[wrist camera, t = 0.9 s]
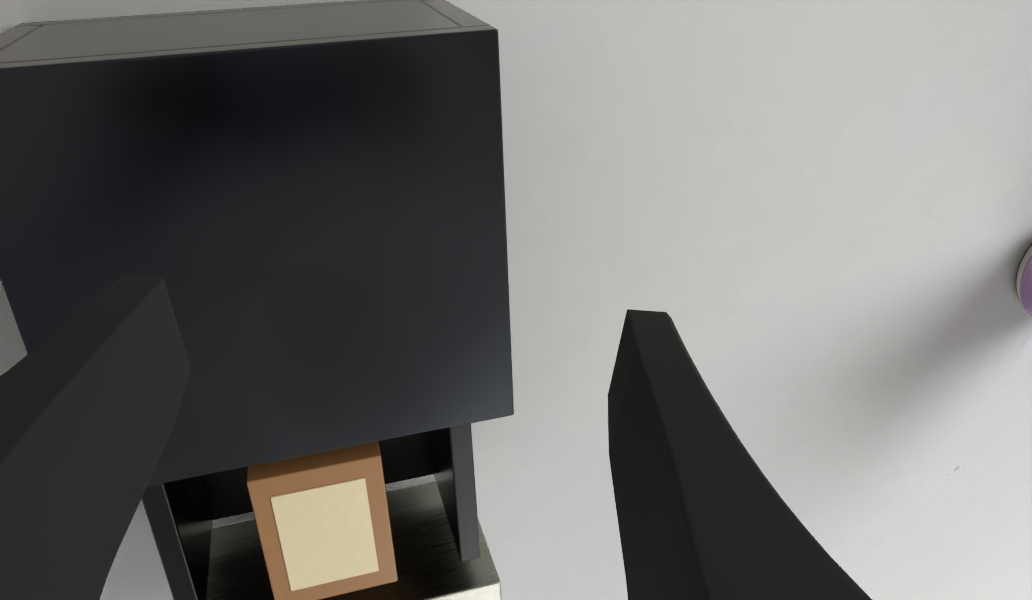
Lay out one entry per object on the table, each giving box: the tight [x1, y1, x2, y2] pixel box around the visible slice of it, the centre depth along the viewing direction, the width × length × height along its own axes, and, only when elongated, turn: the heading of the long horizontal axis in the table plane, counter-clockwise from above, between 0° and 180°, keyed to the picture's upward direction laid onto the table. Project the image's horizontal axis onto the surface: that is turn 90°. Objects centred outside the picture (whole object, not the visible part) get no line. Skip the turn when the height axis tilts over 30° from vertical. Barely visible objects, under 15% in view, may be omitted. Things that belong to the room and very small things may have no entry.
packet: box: [247, 441, 398, 600], centre depth 31 cm, size 6×4×6 cm
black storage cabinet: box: [0, 0, 514, 486], centre depth 27 cm, size 13×14×9 cm
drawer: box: [142, 423, 501, 600], centre depth 32 cm, size 15×12×7 cm
